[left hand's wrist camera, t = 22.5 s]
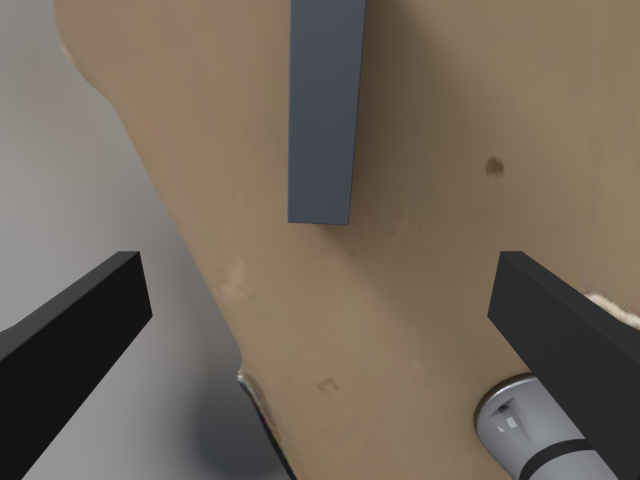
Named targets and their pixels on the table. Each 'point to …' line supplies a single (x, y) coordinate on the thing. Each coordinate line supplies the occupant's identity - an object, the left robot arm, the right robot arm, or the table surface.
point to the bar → (323, 107)
